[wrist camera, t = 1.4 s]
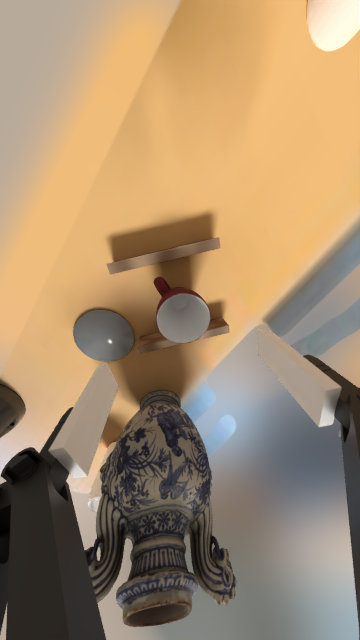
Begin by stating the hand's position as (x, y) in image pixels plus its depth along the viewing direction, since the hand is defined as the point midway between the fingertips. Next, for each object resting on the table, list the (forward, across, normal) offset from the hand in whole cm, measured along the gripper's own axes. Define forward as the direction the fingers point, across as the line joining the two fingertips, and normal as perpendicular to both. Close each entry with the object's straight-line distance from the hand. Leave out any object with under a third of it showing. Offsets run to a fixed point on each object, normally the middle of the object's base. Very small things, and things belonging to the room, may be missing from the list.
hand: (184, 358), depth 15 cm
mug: (+20, 0, 0) cm, 21 cm away
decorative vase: (+20, -10, -28) cm, 36 cm away
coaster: (+20, -16, -5) cm, 26 cm away
